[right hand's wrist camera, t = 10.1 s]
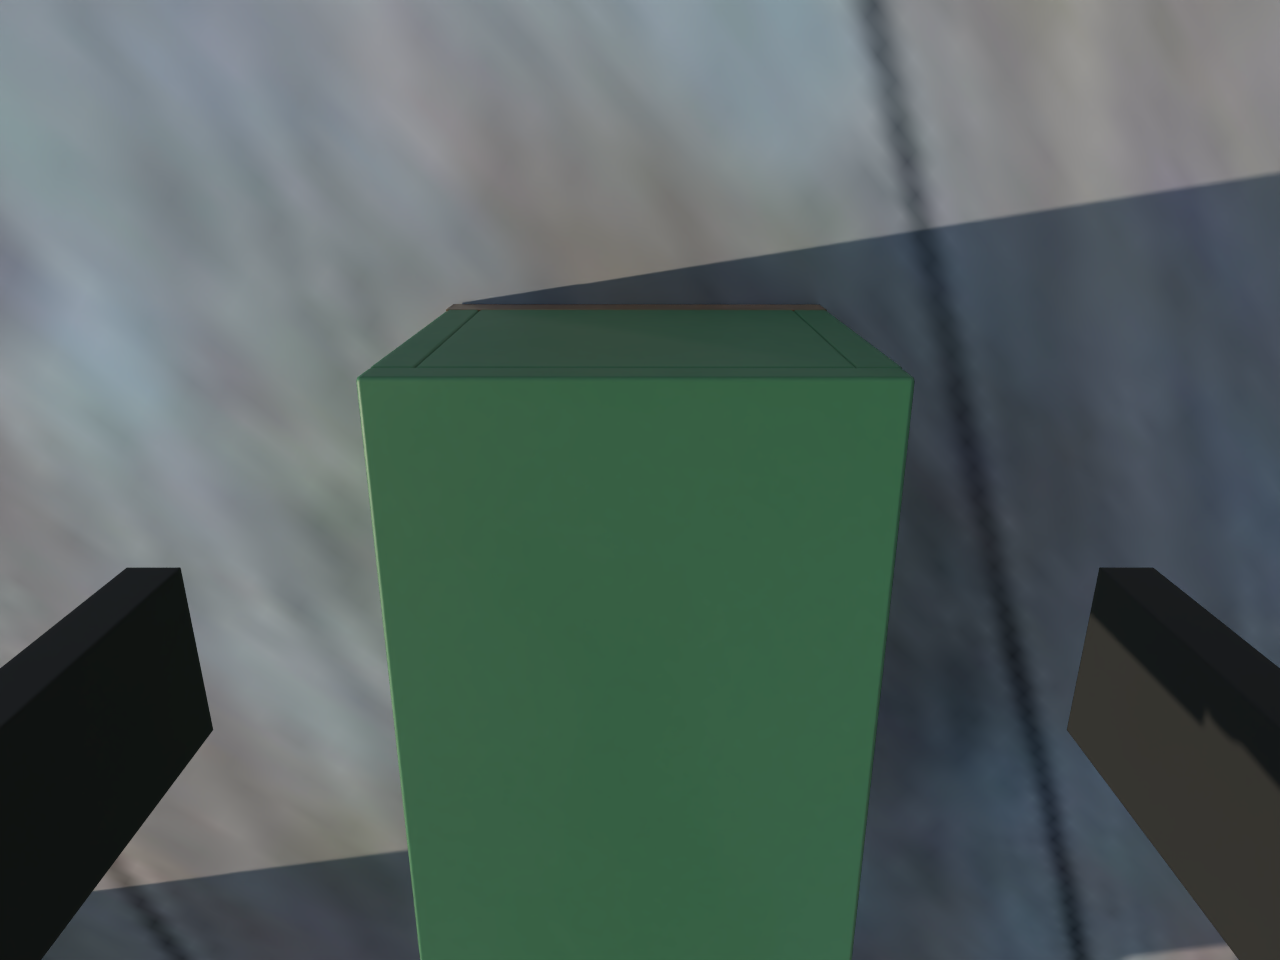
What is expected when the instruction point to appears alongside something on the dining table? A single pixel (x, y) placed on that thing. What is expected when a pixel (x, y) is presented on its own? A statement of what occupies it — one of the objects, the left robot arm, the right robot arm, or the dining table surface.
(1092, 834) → the dining table surface
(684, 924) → the cabinet
